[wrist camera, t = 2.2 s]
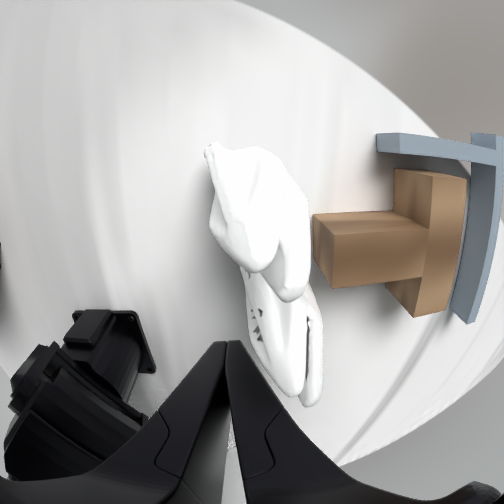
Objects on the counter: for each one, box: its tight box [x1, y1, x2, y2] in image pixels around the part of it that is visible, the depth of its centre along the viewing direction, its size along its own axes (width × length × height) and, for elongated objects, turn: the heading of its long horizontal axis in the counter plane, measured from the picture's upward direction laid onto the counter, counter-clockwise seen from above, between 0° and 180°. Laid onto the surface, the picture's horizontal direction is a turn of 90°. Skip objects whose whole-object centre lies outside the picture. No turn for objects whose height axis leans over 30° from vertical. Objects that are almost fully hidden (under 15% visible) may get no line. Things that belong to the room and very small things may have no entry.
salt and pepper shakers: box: [204, 142, 323, 407], centre depth 13 cm, size 12×4×11 cm, turn 14°
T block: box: [313, 168, 467, 318], centre depth 16 cm, size 9×9×4 cm
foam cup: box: [221, 446, 246, 504], centre depth 22 cm, size 10×9×13 cm
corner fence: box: [376, 133, 504, 324], centre depth 17 cm, size 16×11×3 cm
